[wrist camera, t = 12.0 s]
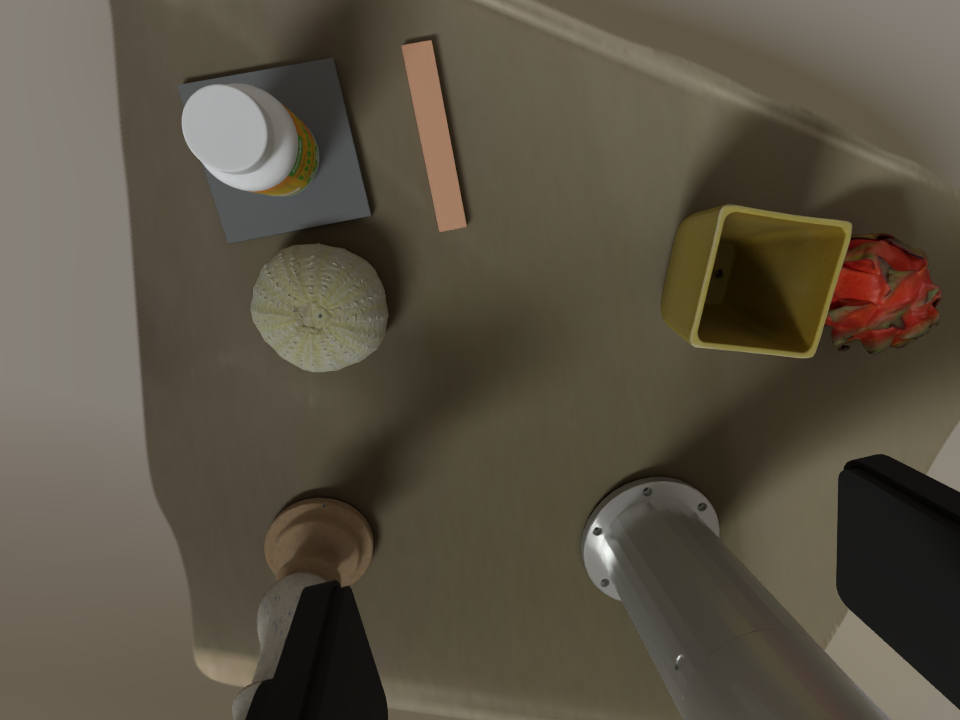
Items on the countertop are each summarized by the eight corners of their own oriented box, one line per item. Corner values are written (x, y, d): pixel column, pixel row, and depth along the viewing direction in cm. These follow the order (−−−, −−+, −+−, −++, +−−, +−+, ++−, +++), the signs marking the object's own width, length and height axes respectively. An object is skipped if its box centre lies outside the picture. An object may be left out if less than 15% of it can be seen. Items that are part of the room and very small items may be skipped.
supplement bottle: (326, 194, 34) (292, 183, 25) (245, 200, 34) (180, 191, 25) (313, 108, 33) (271, 63, 24) (228, 113, 33) (152, 69, 23)
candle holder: (314, 476, 41) (213, 710, 21) (395, 536, 43) (372, 798, 23) (245, 547, 42) (88, 833, 22) (328, 603, 44) (252, 906, 25)
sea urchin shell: (274, 210, 33) (338, 258, 29) (360, 247, 40) (424, 291, 36) (219, 328, 35) (273, 390, 31) (311, 346, 42) (366, 398, 37)
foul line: (466, 226, 37) (466, 226, 36) (439, 231, 37) (439, 232, 36) (431, 43, 33) (431, 39, 33) (401, 48, 33) (401, 45, 33)
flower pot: (632, 320, 40) (689, 347, 31) (655, 206, 38) (723, 202, 29) (732, 331, 41) (814, 360, 33) (761, 221, 39) (857, 222, 30)
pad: (371, 215, 36) (370, 215, 35) (231, 243, 35) (228, 243, 35) (334, 60, 33) (332, 57, 32) (181, 87, 32) (176, 85, 32)
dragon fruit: (863, 321, 44) (741, 267, 43) (961, 246, 38) (820, 182, 37) (892, 393, 38) (752, 332, 38) (1013, 320, 32) (848, 245, 31)
